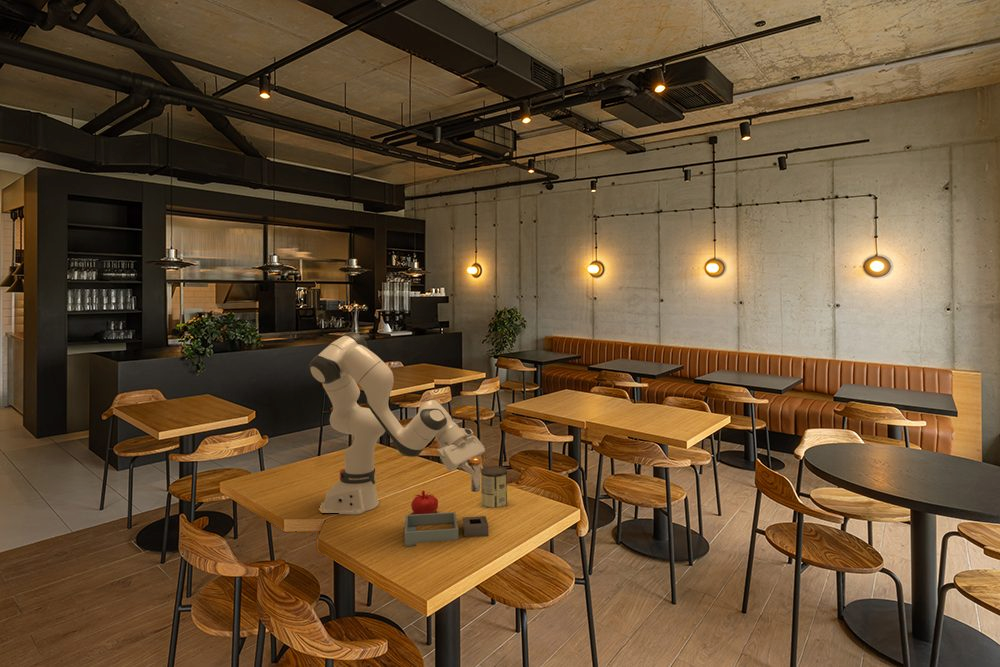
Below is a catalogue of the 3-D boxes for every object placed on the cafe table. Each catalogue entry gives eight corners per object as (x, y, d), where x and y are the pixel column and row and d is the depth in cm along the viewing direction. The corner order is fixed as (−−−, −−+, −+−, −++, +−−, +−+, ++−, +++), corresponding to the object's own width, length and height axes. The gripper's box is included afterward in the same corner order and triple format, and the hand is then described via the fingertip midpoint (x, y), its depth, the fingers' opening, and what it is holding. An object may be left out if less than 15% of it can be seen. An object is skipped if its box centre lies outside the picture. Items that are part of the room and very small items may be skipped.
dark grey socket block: (464, 540, 179) (464, 527, 179) (462, 530, 187) (462, 517, 187) (488, 538, 180) (488, 525, 180) (485, 528, 188) (485, 516, 188)
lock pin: (469, 493, 180) (469, 460, 180) (468, 488, 185) (468, 456, 184) (482, 492, 181) (482, 459, 180) (481, 487, 185) (481, 456, 185)
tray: (404, 546, 175) (404, 532, 175) (405, 527, 189) (405, 515, 189) (458, 542, 177) (458, 529, 177) (455, 524, 192) (455, 512, 192)
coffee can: (488, 498, 217) (487, 464, 216) (511, 502, 212) (511, 467, 211) (476, 507, 207) (476, 471, 206) (500, 511, 203) (500, 475, 202)
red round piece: (437, 520, 196) (437, 495, 196) (410, 520, 196) (409, 495, 195) (438, 508, 206) (438, 485, 205) (412, 509, 205) (412, 485, 205)
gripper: (440, 441, 176) (465, 475, 172) (473, 428, 194) (497, 458, 190) (429, 453, 179) (454, 486, 174) (463, 438, 196) (486, 468, 192)
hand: (477, 471), depth 182 cm, fingers closed on lock pin, 3 cm apart
